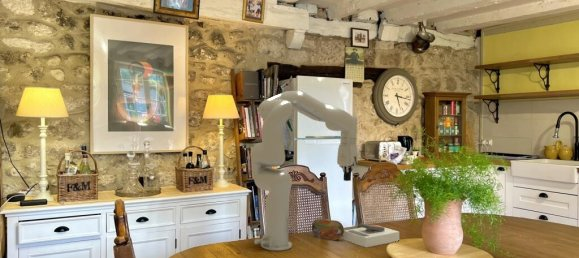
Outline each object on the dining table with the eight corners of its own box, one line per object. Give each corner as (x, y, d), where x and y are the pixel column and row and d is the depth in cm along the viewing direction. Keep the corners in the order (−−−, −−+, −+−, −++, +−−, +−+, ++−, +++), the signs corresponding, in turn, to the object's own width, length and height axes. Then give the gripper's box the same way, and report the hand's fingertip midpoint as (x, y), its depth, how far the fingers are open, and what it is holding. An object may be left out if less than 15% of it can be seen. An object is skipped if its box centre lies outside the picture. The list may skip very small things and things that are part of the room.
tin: (311, 236, 193) (311, 217, 193) (314, 234, 195) (315, 216, 195) (341, 242, 184) (341, 222, 184) (344, 240, 187) (345, 221, 187)
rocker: (368, 229, 182) (368, 225, 183) (358, 226, 187) (359, 222, 188) (384, 230, 188) (384, 227, 188) (374, 227, 193) (374, 224, 193)
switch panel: (366, 247, 176) (366, 236, 176) (343, 239, 188) (343, 229, 188) (399, 240, 188) (399, 230, 188) (375, 233, 199) (376, 223, 199)
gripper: (332, 141, 207) (331, 179, 207) (352, 142, 194) (351, 183, 194) (344, 141, 211) (343, 178, 211) (365, 142, 198) (364, 182, 198)
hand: (347, 180), depth 202 cm, fingers closed
